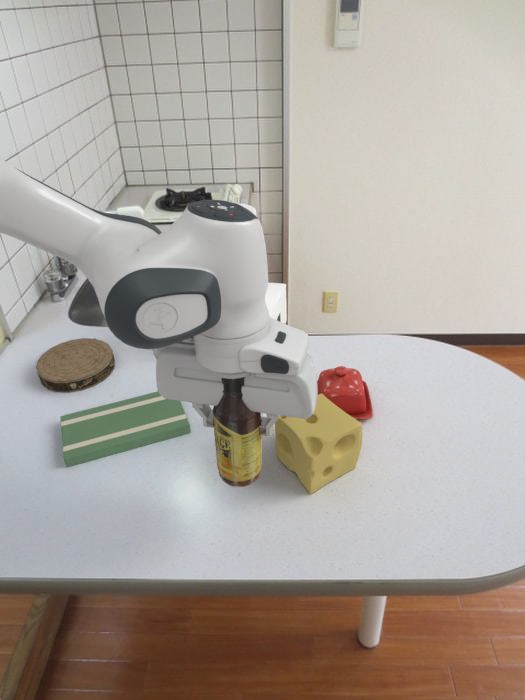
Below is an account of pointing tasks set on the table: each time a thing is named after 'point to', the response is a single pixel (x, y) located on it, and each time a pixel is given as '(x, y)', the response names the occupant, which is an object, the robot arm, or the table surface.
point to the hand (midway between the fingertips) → (238, 428)
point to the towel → (121, 427)
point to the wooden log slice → (75, 365)
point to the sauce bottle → (237, 437)
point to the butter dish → (346, 391)
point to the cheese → (319, 444)
